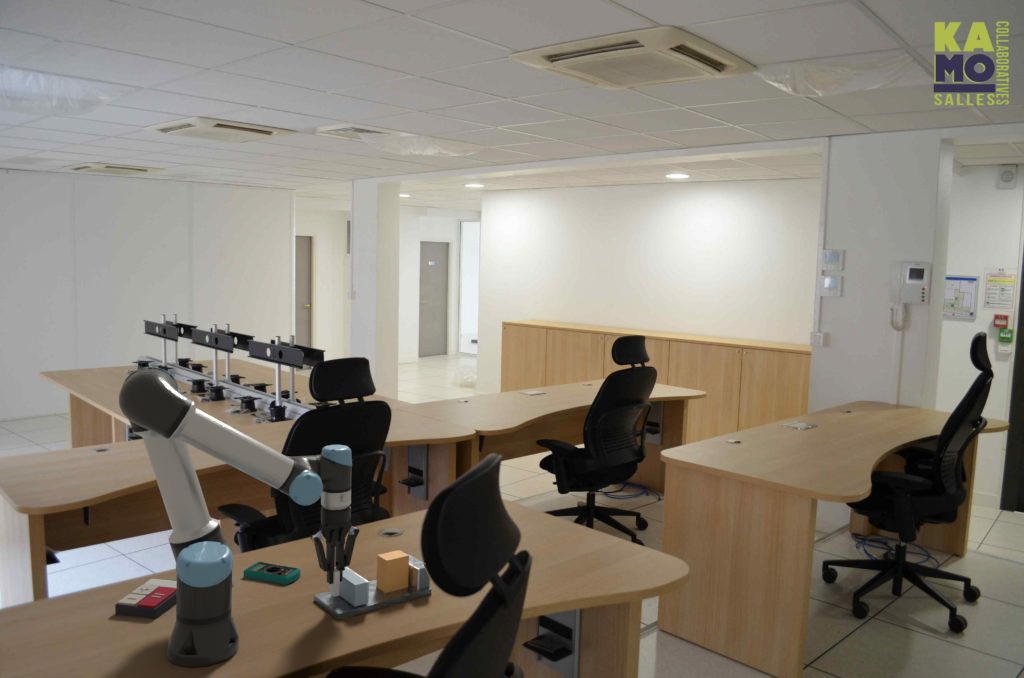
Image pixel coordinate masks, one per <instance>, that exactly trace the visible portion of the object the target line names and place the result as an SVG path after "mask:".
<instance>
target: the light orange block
mask: <svg viewBox="0 0 1024 678" xmlns="http://www.w3.org/2000/svg"><path fill="white" fill-rule="evenodd" d="M406 553H407V552H406ZM406 553H405V552H404V551H402V550H401V549H399V550H398V549H397V550H393V551H389V552H385V553H379V554H377V556H376V560H377V561H376V579H377V583H376V587H377V588H379V589H380V590H382V591H383V592H385V593H388V592H392V591H396V590H399V589H403V588H407V587H408V570H409V555H410V554H409V555H407V554H406Z"/></svg>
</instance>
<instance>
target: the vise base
mask: <svg viewBox="0 0 1024 678" xmlns="http://www.w3.org/2000/svg"><path fill="white" fill-rule="evenodd" d="M406 554H407V555H409V570H408V587H407V588H403V589H399V590H396V591H392V592H388V593H385V592H383V591H382V590H380V589H379V588H377V587H376V583H377V578H376V579H372V580H369V601H368V603H366V604H363V605H359V606H355V607H354V606H353V605H352V604H350V603H349V602H348V601H346V600H345V599H344V598H342V597H341V596H340V595H339V596H336V597H334V596H332V595H331V594H330V593H329V590H327V591H324V592H319V593H317V594H314V595H313V601H314V602H315V601H316V603H317V604H318V605H319V606H320V607H321V608H323V609H324V610H325V611H327V612H328V613H329V614H330V615H332V616H333V617H334V618H335V619H337V620H338V621H339V620H344V619H347V618H350V617H354V616H357V615H358V616H359V615H360V614H365V613H368V612H372V611H374V610H375V611H376V610H380V609H382V608H386V607H390V606H394V605H397V604H401V603H405V602H408V601H412V600H416V599H419V598H422V596H423V597H425V596H429V595H432V588H431V587H430V585H431V582H430V581H431V577H430V578H429V576H428V574H427V572H426V570H425V567H424V564H423V563H424V562H423V561H422V560H420V559H418V558H416V557H415V556H412V555H410V554H409V553H407V552H406Z"/></svg>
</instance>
